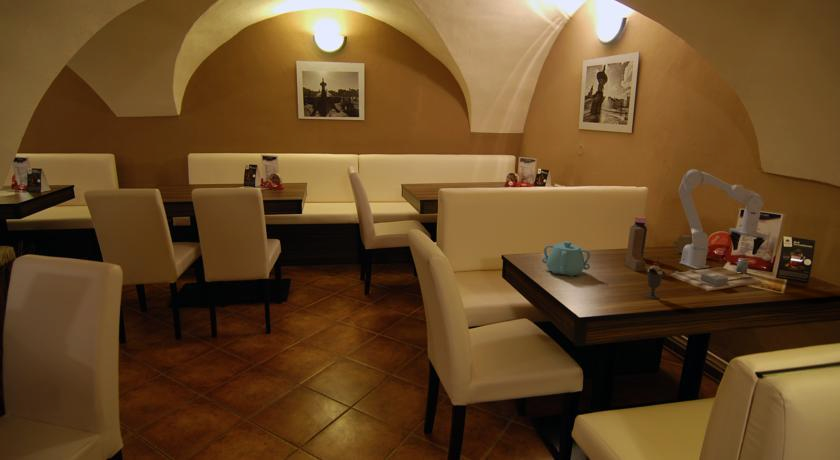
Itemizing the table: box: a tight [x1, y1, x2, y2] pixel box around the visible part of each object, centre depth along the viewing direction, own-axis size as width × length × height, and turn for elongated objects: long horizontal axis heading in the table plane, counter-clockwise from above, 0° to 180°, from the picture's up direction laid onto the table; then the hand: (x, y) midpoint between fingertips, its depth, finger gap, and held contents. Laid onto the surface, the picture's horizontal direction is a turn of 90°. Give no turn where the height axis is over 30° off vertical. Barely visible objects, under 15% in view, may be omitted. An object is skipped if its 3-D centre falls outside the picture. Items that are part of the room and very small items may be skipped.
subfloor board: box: [670, 266, 761, 292], centre depth 203 cm, size 18×30×2 cm, turn 111°
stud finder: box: [701, 273, 728, 287], centre depth 195 cm, size 7×6×4 cm
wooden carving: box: [671, 234, 710, 254], centre depth 236 cm, size 16×5×10 cm, turn 56°
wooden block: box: [624, 226, 647, 272], centre depth 213 cm, size 9×4×18 cm, turn 5°
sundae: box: [644, 257, 666, 300], centre depth 180 cm, size 7×7×15 cm
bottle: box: [631, 215, 648, 259], centre depth 228 cm, size 7×7×20 cm
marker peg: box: [735, 257, 750, 274], centre depth 212 cm, size 4×4×6 cm
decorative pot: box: [541, 240, 591, 278], centre depth 206 cm, size 16×16×14 cm
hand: (744, 252), depth 210 cm, fingers open, 7 cm apart
